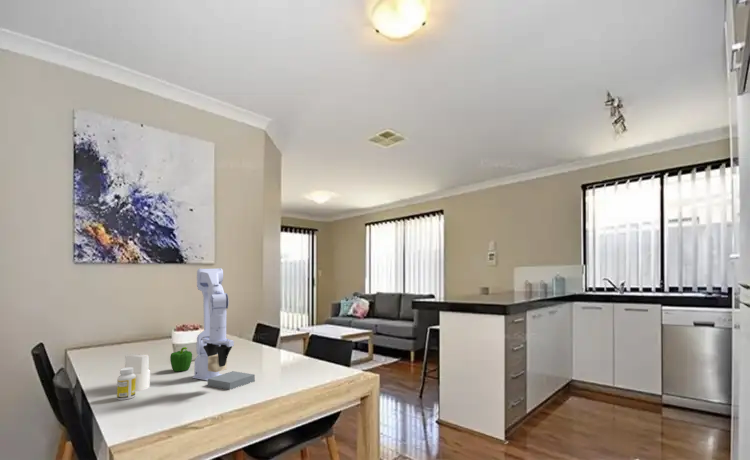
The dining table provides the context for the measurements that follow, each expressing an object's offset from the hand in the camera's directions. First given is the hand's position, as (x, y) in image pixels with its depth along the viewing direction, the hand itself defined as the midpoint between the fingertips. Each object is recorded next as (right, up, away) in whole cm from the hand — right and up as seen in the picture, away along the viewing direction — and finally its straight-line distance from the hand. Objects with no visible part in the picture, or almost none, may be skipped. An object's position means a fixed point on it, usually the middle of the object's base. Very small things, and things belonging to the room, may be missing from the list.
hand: (217, 365), depth 145 cm
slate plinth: (+2, -9, +7) cm, 12 cm away
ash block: (0, -2, 0) cm, 2 cm away
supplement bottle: (-29, -9, -7) cm, 31 cm away
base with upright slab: (-32, -10, +4) cm, 34 cm away
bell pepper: (-27, -12, +28) cm, 41 cm away
